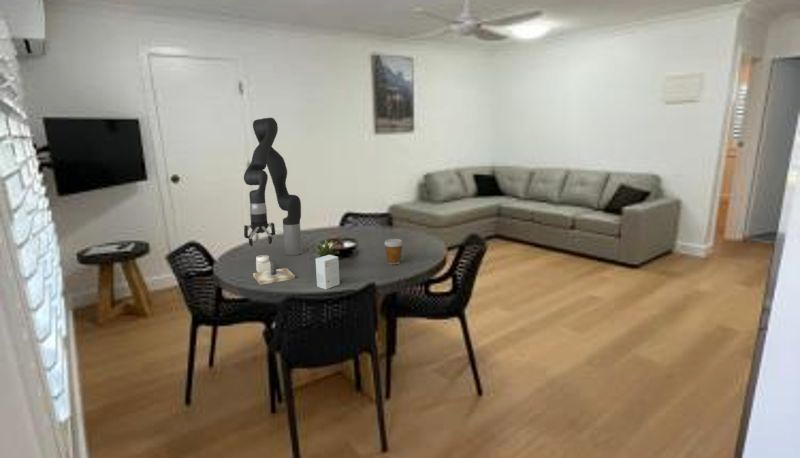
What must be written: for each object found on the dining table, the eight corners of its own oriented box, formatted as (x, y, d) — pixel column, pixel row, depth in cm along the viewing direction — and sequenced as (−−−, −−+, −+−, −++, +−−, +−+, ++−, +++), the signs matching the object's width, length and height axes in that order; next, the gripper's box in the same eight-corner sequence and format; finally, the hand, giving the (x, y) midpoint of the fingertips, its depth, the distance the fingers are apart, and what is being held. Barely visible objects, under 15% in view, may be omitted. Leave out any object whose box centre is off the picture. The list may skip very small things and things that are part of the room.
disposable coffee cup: (406, 261, 232) (405, 239, 229) (398, 267, 223) (398, 243, 221) (389, 259, 236) (389, 237, 233) (381, 264, 227) (380, 242, 225)
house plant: (327, 279, 207) (326, 245, 203) (305, 274, 214) (303, 241, 210) (347, 270, 218) (345, 238, 215) (325, 266, 226) (324, 235, 222)
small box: (330, 281, 203) (329, 254, 200) (340, 284, 199) (338, 256, 196) (316, 286, 197) (315, 258, 194) (326, 289, 193) (324, 260, 190)
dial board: (286, 270, 219) (285, 256, 218) (295, 278, 208) (294, 263, 206) (253, 276, 212) (252, 261, 210) (260, 284, 200) (258, 268, 198)
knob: (268, 268, 223) (267, 253, 221) (271, 272, 218) (270, 256, 216) (256, 270, 220) (254, 255, 218) (258, 274, 215) (257, 258, 213)
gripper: (271, 209, 219) (273, 241, 222) (241, 212, 212) (244, 245, 216) (275, 212, 213) (277, 245, 216) (244, 214, 206) (247, 248, 209)
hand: (260, 245), depth 216 cm, fingers open, 8 cm apart
